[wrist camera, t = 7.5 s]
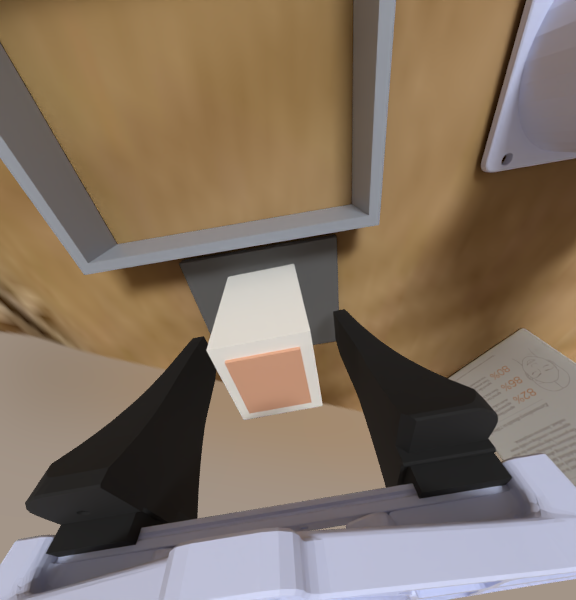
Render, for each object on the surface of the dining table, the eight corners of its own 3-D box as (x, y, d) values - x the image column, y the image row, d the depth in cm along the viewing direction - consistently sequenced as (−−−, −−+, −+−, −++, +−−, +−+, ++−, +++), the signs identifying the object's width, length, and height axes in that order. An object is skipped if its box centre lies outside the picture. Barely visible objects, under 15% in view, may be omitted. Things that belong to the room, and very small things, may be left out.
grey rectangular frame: (374, -255, 6) (430, -461, 4) (360, 212, 13) (379, 224, 11) (-134, -154, 6) (-329, -300, 4) (113, 254, 13) (84, 274, 11)
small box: (470, 397, 24) (587, 538, 15) (440, 380, 22) (554, 533, 13) (550, 349, 21) (756, 496, 12) (523, 324, 19) (747, 479, 10)
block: (294, 263, 14) (310, 333, 8) (305, 327, 16) (323, 408, 11) (228, 276, 14) (205, 353, 9) (250, 337, 17) (243, 423, 11)
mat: (334, 234, 13) (336, 237, 13) (337, 336, 18) (339, 340, 17) (181, 260, 13) (179, 263, 13) (222, 354, 18) (221, 359, 18)
